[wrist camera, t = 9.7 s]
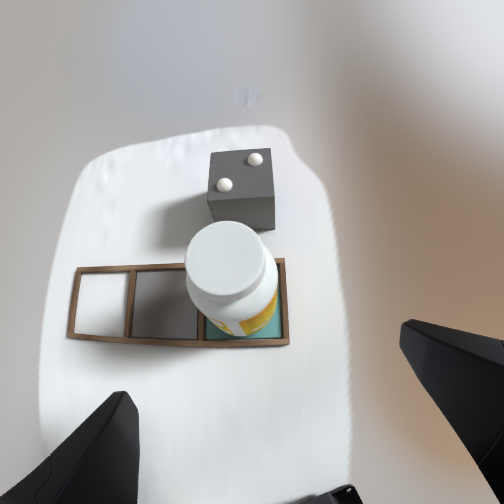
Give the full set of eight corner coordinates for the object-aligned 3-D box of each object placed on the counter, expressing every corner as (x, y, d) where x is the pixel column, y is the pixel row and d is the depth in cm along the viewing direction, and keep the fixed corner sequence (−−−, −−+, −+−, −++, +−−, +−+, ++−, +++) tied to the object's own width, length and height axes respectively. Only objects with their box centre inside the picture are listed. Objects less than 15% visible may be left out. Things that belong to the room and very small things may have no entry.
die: (271, 183, 28) (270, 143, 22) (275, 229, 25) (274, 191, 20) (220, 187, 28) (209, 147, 23) (218, 232, 26) (205, 196, 21)
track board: (284, 260, 24) (284, 257, 24) (289, 344, 21) (289, 343, 21) (79, 269, 25) (76, 267, 25) (70, 337, 23) (67, 336, 22)
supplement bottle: (207, 336, 22) (163, 307, 13) (212, 272, 24) (177, 210, 15) (277, 337, 21) (278, 310, 13) (277, 272, 24) (277, 207, 15)
